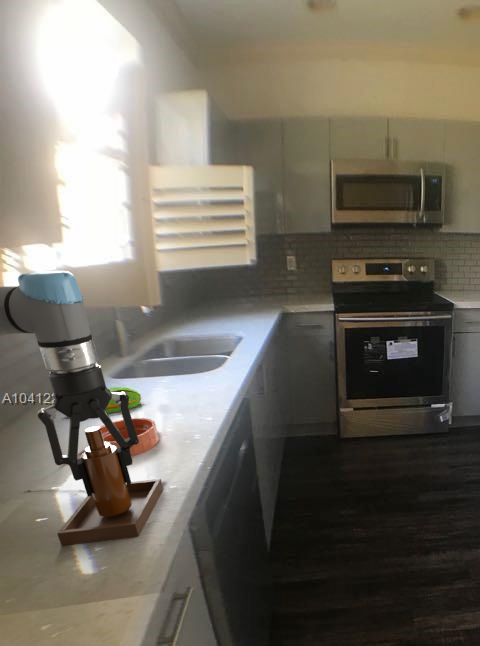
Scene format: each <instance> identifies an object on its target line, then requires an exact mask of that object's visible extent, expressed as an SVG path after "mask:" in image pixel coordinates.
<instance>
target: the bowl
mask: <svg viewBox="0 0 480 646" xmlns="http://www.w3.org/2000/svg"><path fill="white" fill-rule="evenodd" d="M131 418H132V417H131ZM132 421H133V424H134V427H135V430H136V433H137V437H138V440H139V443H138V444H137V445H133V446H132V447H131V448H130V453H131V457H134V456H137V455H140V454H142V453H145V452H147V451H149V450H151V449H153V448H154V447H155V446H156V445H157V444H159V440H160V438H159V434H158V430H157V425H156V421H154V420H152V419H151V418H146V417H134V418H132ZM112 422H113V423H114V425H115V426H116V427H117V429H118V430H119V432H120V433H121V435H122V436H123V437H124V439H125V440H126V439H127V438H129V435H128V432H127V429H126V426H125V423H124V420H123V419H121V420H116V421H112ZM99 427H100V429H101V433H102V436H103V440H104V442H108V443H110V445H114V446H116V448H120V446H119V445H118V443H117V442H116V440H115V439H114V438H113V436H112V435H111V433H110V432H109V431H108V429H107V428H106V426H105V425H104V424H103V425H101V426H99Z"/></svg>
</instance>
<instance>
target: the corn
mask: <svg viewBox="0 0 480 646" xmlns="http://www.w3.org/2000/svg"><path fill="white" fill-rule="evenodd" d="M107 389H108V390H110V392H114V393H120V392H122V391H125V392H126V393H127V394H128V396H129V403H128V408H129V410H130V409H133V408H135V407H137V406H139V405H140V403H141V401H142V394H141V393H140V392H139V391H137V390H135V389H132V388H129V387H121V386H120V387H117V386H114V387H110V388H107ZM105 411H106V413H107V414H111V413H119V412H121V411H120V408H119V405H117V404H116V403H115V402H114V400H113V399H111V400H110V402H109V404H108V406H107V408H106V410H105Z"/></svg>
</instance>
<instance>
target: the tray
mask: <svg viewBox="0 0 480 646" xmlns="http://www.w3.org/2000/svg"><path fill="white" fill-rule="evenodd" d="M126 484H127V483H126ZM127 487H128V491H129V495H130V498H131V502H132V505H131V507H130V508H129V509H128V510H127V511H125V512H123V513H121V514H119V515H116V516H111V517H102V516H100V515H99V514H98V510H97V507H96V504H95V501H94V498H93V494H92V496H89V497H88V496H87V495H86V497H85V498H84V499H83V500H82V502H81V503H80V504H79V506H78V507H77V508H76V509H75V511H74V512H73V513H72V514H71V516H70V517H69V518H68V519H67V521H66V522H65V523H64V525H62V527H61V528H60V530H59V531H58V532H57V534H56V535H57V537H58V541H59V543H60V545H61V547H63V546H64V547H65V546H72V545H79V544H80V545H82V544H88V543H95V542H104V541H112V540H121V539H128V538H136V537H139V536H140V535H141V533H142V531H143V529H144V528H145V525H146V523H147V521H148V520H149V518H150V516H151V515H152V513H153V510H154V508H155V506H156V505H157V502H158V500H159V499H160V497H161V495H162V494H163V491H164V489H163V487H164V486H163V482H162V478H156V479H155V478H154V479H145V480H138V481H131V484H127Z"/></svg>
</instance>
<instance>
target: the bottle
mask: <svg viewBox="0 0 480 646" xmlns="http://www.w3.org/2000/svg"><path fill="white" fill-rule="evenodd" d="M100 427H101V426H99V425H96V426H89V427H87V428H86V429H84V435H85V438H86V442H87V444H88V445H87V446H86V447H85V448H84V452H82V453H81V454H80V458H81V459H82V462H83V465H84V469H85V472H86V475H87V478H88V481H89V485H90V488H91V491H92V494H93V498H94V501H95V504H96V507H97V510H98V514H99V515H100V516H102V517H111V516H116V515H119V514H121V513H123V512H125V511H127V510H128V509H129V508H130V507H131V505H132V502H131V498H130V495H129V491H128V487H127V484H126V480H125V477H124V473H123V469H122V466H121V462H120V459H119V455H118V451H117V448H116V446H114V445H110V443H108V442H104V440H103V436H102V433H101V429H100Z"/></svg>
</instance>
